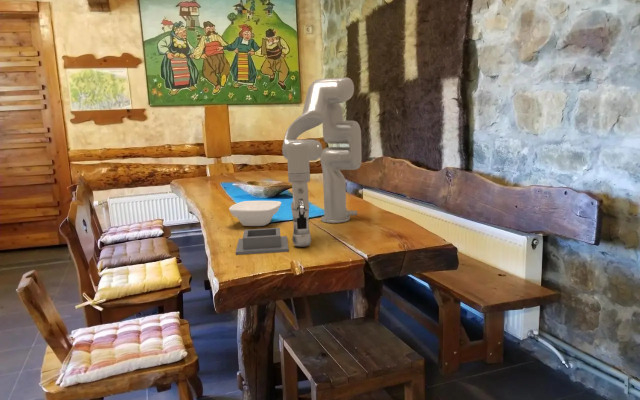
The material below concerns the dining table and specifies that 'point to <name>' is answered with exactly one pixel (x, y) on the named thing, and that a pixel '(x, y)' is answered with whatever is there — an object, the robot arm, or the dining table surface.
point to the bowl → (255, 212)
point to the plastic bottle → (300, 230)
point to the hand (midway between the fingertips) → (301, 225)
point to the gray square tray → (262, 241)
